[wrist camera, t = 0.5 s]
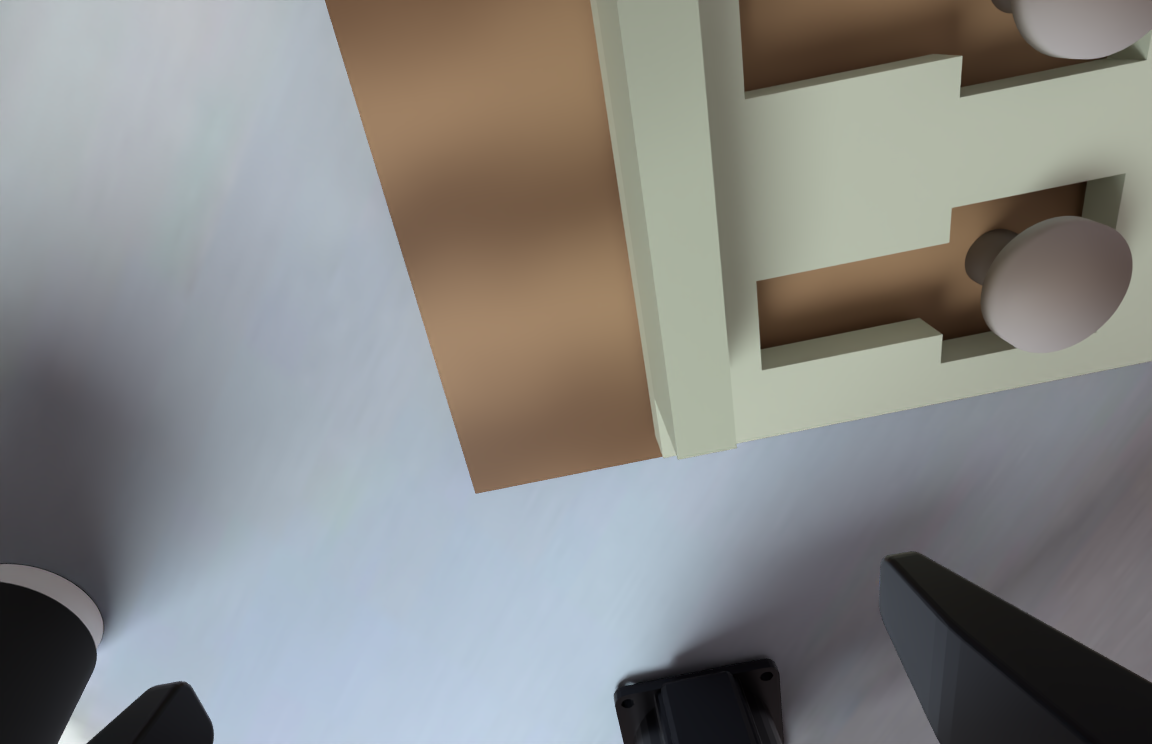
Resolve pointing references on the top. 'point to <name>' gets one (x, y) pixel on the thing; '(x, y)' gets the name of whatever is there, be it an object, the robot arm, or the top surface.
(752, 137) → the sage panel
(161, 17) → the top surface
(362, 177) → the top surface
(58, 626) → the dixie cup
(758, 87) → the walnut board
